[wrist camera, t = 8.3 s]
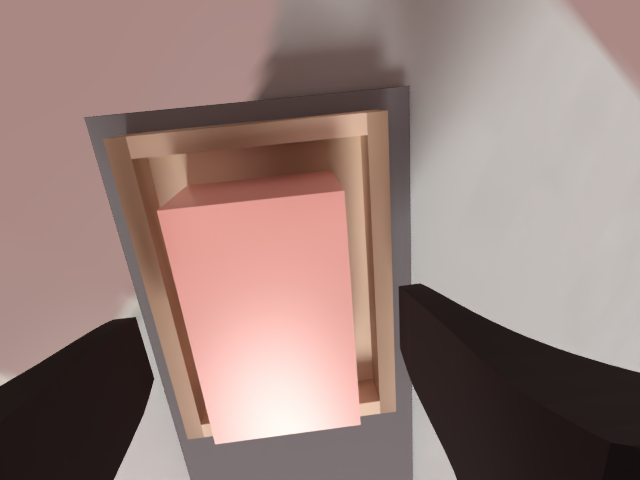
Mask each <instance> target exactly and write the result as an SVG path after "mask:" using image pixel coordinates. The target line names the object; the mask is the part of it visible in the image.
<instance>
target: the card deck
mask: <svg viewBox="0 0 640 480" xmlns="http://www.w3.org/2000/svg"><path fill="white" fill-rule="evenodd" d="M157 214H158V218H159V222H160V226H161V230H162V234H163V238H164V242H165V246H166V250H167V254H168V258H169V262H170V266H171V270H172V274H173V278H174V282H175V286H176V290H177V294H178V298H179V302H180V306H181V310H182V314H183V318H184V322H185V326H186V330H187V334H188V338H189V342H190V346H191V350H192V354H193V358H194V362H195V366H196V370H197V374H198V378H199V382H200V386H201V390H202V394H203V398H204V402H205V406H206V410H207V414H208V418H209V422H210V426H211V430H212V434H213V438H214V442H215V444H222V443H229V442H237V441H244V440H252V439H259V438H266V437H274V436H281V435H289V434H296V433H303V432H311V431H318V430H326V429H333V428H340V427H348V426H355V425H361V421H360V407H359V392H358V378H357V364H356V349H355V335H354V321H353V306H352V292H351V278H350V264H349V249H348V235H347V221H346V206H345V192H344V189H343V188H342V186H341V184H340V183H339V181H338V180H337V178H336V177H335V175H334V173H333V172H332V170H327V171H318V172H308V173H299V174H289V175H280V176H270V177H261V178H251V179H242V180H232V181H223V182H213V183H204V184H194V185H187V186H186V187H185V188H183V189H182V190H181V191H180V192H179V193H177V194H176V195H175V196H174V197H173V198H172V199H170V200H169V201H168V202H167V203H166V204H164V205H163V206H162V207H161V208H160V209H158V210H157Z"/></svg>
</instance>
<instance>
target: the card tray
mask: <svg viewBox="0 0 640 480" xmlns="http://www.w3.org/2000/svg"><path fill="white" fill-rule="evenodd" d="M103 141H104V145H105V148H106V152H107V155H108V159H109V162H110V166H111V169H112V173H113V176H114V180H115V184H116V187H117V191H118V194H119V198H120V201H121V205H122V208H123V212H124V215H125V219H126V222H127V226H128V230H129V233H130V237H131V240H132V244H133V247H134V251H135V254H136V258H137V261H138V265H139V268H140V272H141V276H142V279H143V283H144V286H145V290H146V293H147V297H148V300H149V304H150V307H151V311H152V314H153V318H154V322H155V325H156V329H157V332H158V336H159V339H160V343H161V346H162V350H163V353H164V357H165V360H166V364H167V368H168V371H169V375H170V378H171V382H172V385H173V389H174V392H175V396H176V399H177V403H178V406H179V410H180V414H181V417H182V421H183V424H184V428H185V431H186V435H187V438H188V439H195V438H203V437H210V436H213V434H212V430H211V426H210V422H209V418H208V414H207V410H206V406H205V402H204V398H203V394H202V390H201V386H200V382H199V378H198V374H197V370H196V366H195V362H194V358H193V354H192V350H191V346H190V342H189V338H188V334H187V330H186V326H185V322H184V318H183V314H182V310H181V306H180V302H179V298H178V294H177V290H176V286H175V282H174V278H173V274H172V270H171V266H170V262H169V258H168V254H167V250H166V246H165V242H164V238H163V234H162V230H161V226H160V222H159V218H158V214H157V210H158V209H160V208H161V207H162V206H163V205H164V204H166V203H167V202H168V201H169V200H170V199H172V198H173V197H174V196H175V195H176V194H177V193H179V192H180V191H181V190H182V189H183V188H185V187H186V186H187V185H194V184H204V183H213V182H223V181H232V180H242V179H251V178H261V177H270V176H280V175H289V174H299V173H308V172H318V171H327V170H332V172H333V173H334V175H335V177H336V178H337V180H338V181H339V183H340V184H341V186H342V188H343V189H344V192H345V206H346V221H347V235H348V249H349V264H350V278H351V292H352V306H353V321H354V335H355V349H356V364H357V378H358V392H359V407H360V416H367V415H374V414H381V413H389V412H396V389H395V353H394V316H393V280H392V243H391V206H390V170H389V133H388V111H387V110H376V109H375V110H365V111H355V112H345V113H334V114H324V115H314V116H304V117H294V118H284V119H274V120H264V121H254V122H244V123H234V124H224V125H214V126H204V127H194V128H184V129H173V130H163V131H153V132H143V133H133V134H125V135H120V136H115V137H110V138H105V139H103Z"/></svg>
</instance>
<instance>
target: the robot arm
mask: <svg viewBox="0 0 640 480" xmlns="http://www.w3.org/2000/svg"><path fill="white" fill-rule="evenodd" d="M399 330H400V350H401V353H402V356H403V359H404V363H405V366H406V369H407V371H408V374H409V377H410V380H411V382H412V384H413V386H414V389H415V391H416V393H417V395H418V397H419V399H420V401H421V403H422V405H423V407H424V409H425V411H426V413H427V415H428V417H429V420H430V422H431V424H432V426H433V428H434V430H435V432H436V434H437V436H438V438H439V440H440V442H441V444H442V446H443V448H444V450H445V452H446V454H447V457H448V459H449V461H450V464H451V466H452V468H453V470H454V473H455V475H456V478H457V480H640V373H639V372H635V371H631V370H627V369H623V368H619V367H616V366H612V365H608V364H605V363H602V362H598V361H595V360H592V359H588V358H585V357H582V356H579V355H575V354H572V353H569V352H566V351H563V350H560V349H557V348H555V347H552V346H549V345H547V344H544V343H541V342H539V341H536V340H534V339H531V338H528V337H526V336H523V335H521V334H519V333H516V332H514V331H512V330H510V329H507V328H505V327H503V326H501V325H499V324H497V323H494V322H492V321H490V320H488V319H486V318H484V317H482V316H480V315H478V314H476V313H474V312H472V311H471V310H469V309H467V308H465V307H463V306H461V305H459V304H458V303H456V302H454V301H452V300H450V299H449V298H447V297H445V296H443V295H441V294H440V293H438V292H436V291H434V290H432V289H430V288H429V287H427V286H425V285H422V284H413V285H404V286H399ZM153 381H154V377H153V373H152V370H151V367H150V363H149V360H148V357H147V353H146V350H145V347H144V343H143V340H142V337H141V333H140V330H139V327H138V323H137V320H136V317H133V318H124V319H116V320H112V321H109V322H107V323H105V324H103V325H101V326H99V327H98V328H96V329H94V330H92V331H91V332H89V333H87V334H86V335H84V336H82V337H81V338H79V339H78V340H76V341H74V342H73V343H71V344H69V345H68V346H66V347H65V348H63V349H61V350H60V351H58V352H57V353H55V354H53V355H52V356H50V357H49V358H47V359H45V360H44V361H42V362H41V363H39V364H37V365H36V366H34V367H32V368H31V369H29V370H27V371H25V372H24V373H22V374H20V375H18V376H17V377H15V378H13V379H12V380H10V381H8V382H7V383H5V384H3V385H1V386H0V480H114V478H115V476H116V474H117V471H118V469H119V467H120V465H121V463H122V461H123V458H124V456H125V454H126V452H127V450H128V448H129V446H130V443H131V441H132V439H133V437H134V434H135V432H136V430H137V428H138V426H139V423H140V421H141V419H142V416H143V414H144V411H145V408H146V405H147V402H148V399H149V395H150V392H151V388H152V385H153Z"/></svg>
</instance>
